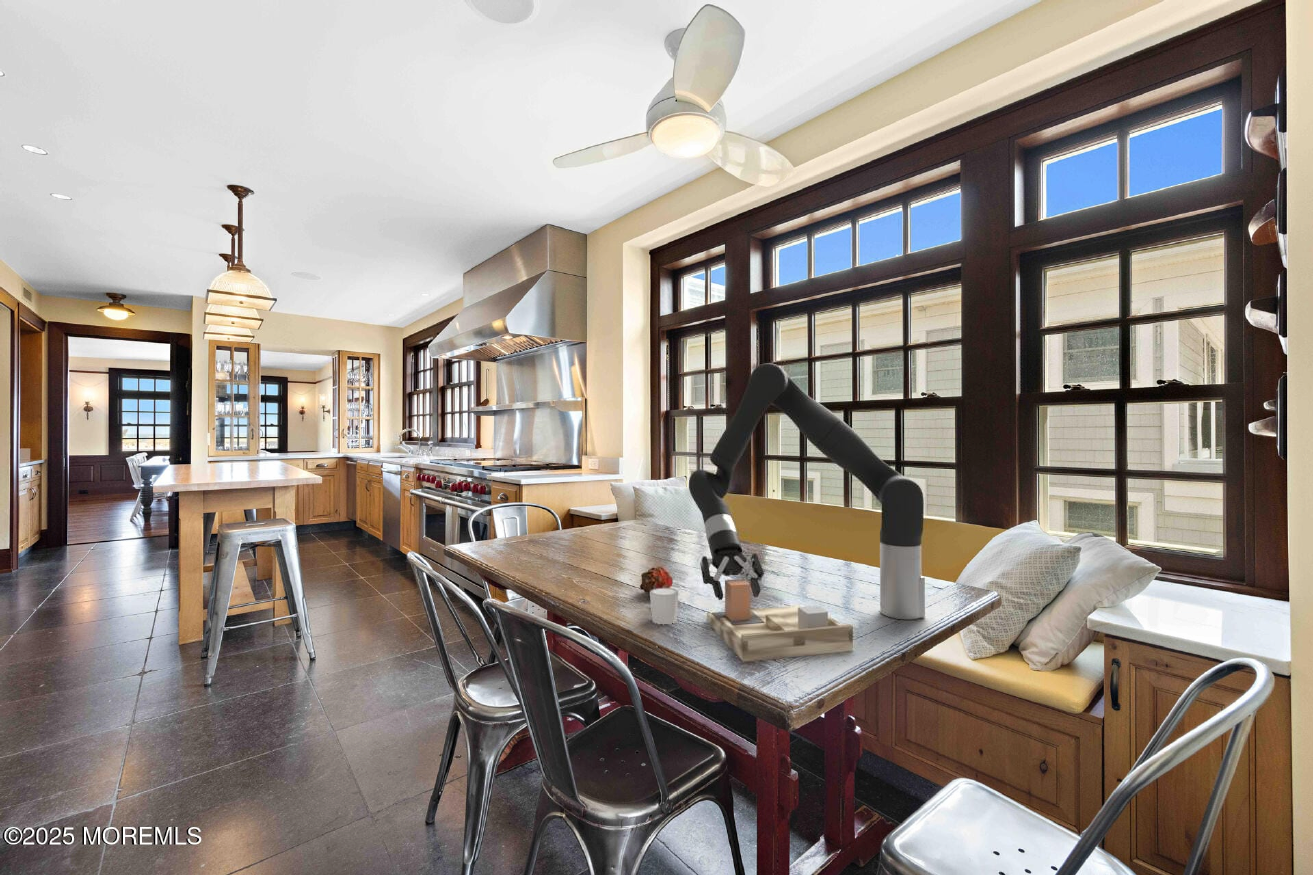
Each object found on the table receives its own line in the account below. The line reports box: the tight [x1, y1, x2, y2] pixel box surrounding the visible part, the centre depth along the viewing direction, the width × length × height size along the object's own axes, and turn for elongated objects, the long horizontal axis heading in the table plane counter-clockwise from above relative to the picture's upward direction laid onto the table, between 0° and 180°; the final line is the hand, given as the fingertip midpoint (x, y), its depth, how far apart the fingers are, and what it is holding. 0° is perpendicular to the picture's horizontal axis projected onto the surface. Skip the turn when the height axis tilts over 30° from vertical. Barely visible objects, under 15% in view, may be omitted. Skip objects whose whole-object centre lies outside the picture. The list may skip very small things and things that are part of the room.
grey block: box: [798, 605, 829, 629], centre depth 122 cm, size 4×4×5 cm
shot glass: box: [649, 587, 680, 626], centre depth 137 cm, size 7×7×7 cm
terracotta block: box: [724, 578, 752, 621], centre depth 132 cm, size 4×4×8 cm
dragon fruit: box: [639, 565, 673, 596], centre depth 158 cm, size 8×8×12 cm
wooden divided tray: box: [706, 605, 854, 663], centre depth 126 cm, size 24×24×5 cm
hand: (739, 596), depth 131 cm, fingers open, 8 cm apart
